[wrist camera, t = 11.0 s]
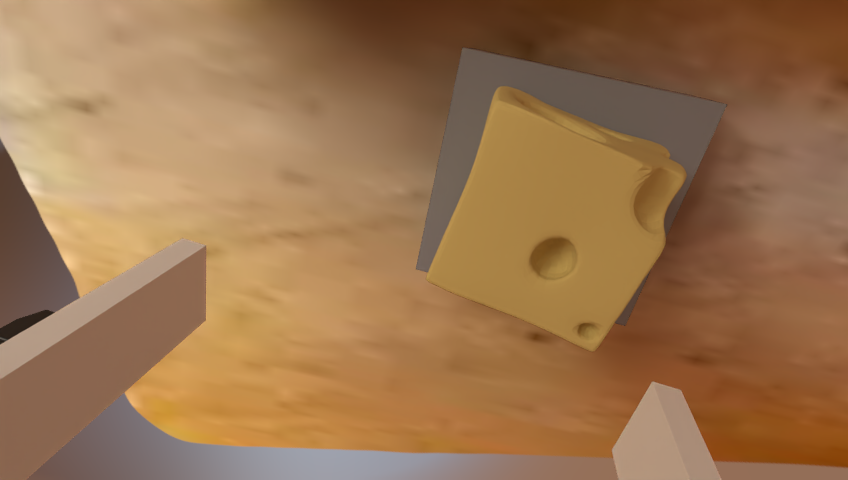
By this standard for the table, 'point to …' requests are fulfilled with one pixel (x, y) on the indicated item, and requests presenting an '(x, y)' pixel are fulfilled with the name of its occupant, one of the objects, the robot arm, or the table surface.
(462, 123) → the charcoal block
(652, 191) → the cheese
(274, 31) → the table surface
